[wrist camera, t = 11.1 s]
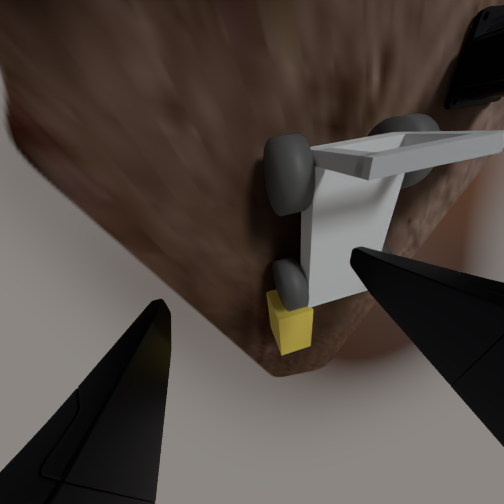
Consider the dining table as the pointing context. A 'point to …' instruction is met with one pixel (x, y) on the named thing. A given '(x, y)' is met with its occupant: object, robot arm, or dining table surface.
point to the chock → (289, 325)
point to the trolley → (353, 196)
